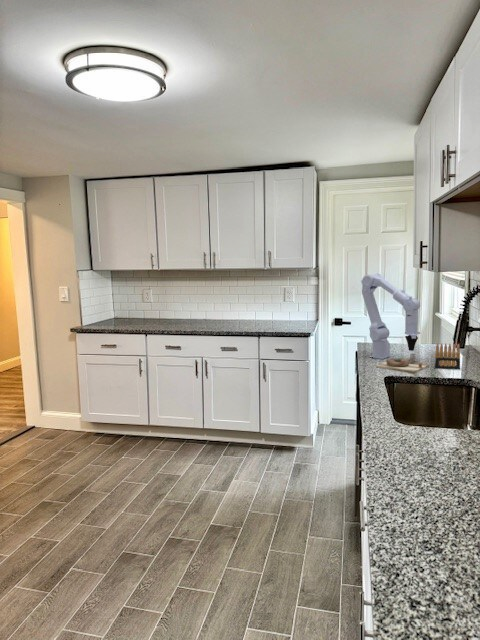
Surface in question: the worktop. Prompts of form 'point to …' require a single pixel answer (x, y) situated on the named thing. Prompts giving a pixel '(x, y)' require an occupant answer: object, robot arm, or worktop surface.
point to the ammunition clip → (445, 361)
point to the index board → (404, 367)
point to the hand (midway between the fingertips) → (411, 350)
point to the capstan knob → (401, 361)
